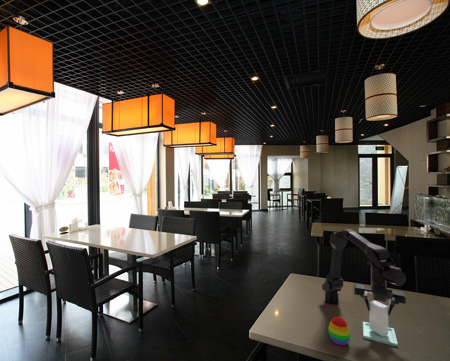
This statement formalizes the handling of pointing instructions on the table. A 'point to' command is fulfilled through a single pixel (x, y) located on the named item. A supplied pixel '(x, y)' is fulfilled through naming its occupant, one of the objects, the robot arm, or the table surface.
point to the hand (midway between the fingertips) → (378, 312)
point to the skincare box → (378, 318)
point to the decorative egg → (339, 331)
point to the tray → (374, 336)
